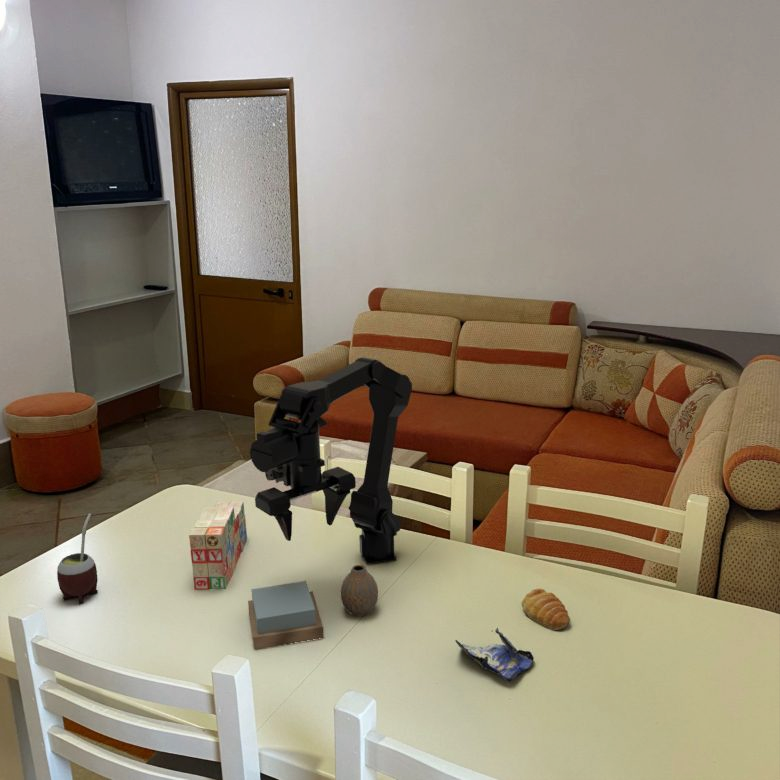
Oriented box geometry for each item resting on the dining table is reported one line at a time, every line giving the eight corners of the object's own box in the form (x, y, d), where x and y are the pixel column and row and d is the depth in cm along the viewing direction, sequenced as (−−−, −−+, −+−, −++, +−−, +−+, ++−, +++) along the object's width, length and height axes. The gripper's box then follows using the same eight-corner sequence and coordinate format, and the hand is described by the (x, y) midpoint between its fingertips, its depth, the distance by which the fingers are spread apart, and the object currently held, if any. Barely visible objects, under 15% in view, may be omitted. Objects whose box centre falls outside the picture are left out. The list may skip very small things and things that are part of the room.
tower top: (306, 595, 142) (306, 580, 141) (316, 624, 133) (315, 609, 132) (252, 603, 140) (251, 589, 139) (258, 634, 131) (256, 619, 130)
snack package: (504, 636, 133) (445, 652, 129) (509, 607, 131) (449, 622, 126) (543, 685, 124) (481, 705, 119) (550, 655, 121) (487, 674, 116)
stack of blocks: (219, 539, 170) (215, 488, 166) (247, 539, 170) (243, 488, 166) (194, 591, 149) (188, 533, 146) (226, 590, 149) (220, 533, 146)
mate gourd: (61, 609, 143) (50, 537, 139) (60, 589, 150) (49, 520, 146) (103, 600, 146) (93, 529, 142) (100, 581, 153) (90, 512, 149)
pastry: (579, 626, 135) (580, 607, 134) (548, 637, 133) (549, 617, 132) (546, 601, 144) (547, 582, 142) (516, 610, 141) (517, 592, 140)
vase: (383, 603, 143) (382, 561, 141) (371, 623, 137) (369, 580, 135) (349, 597, 146) (348, 556, 143) (335, 616, 139) (333, 574, 137)
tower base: (313, 605, 144) (312, 591, 144) (323, 641, 133) (323, 626, 132) (249, 615, 142) (248, 600, 141) (254, 653, 130) (253, 637, 130)
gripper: (321, 431, 150) (325, 504, 154) (236, 455, 138) (243, 533, 143) (355, 446, 141) (358, 522, 146) (268, 473, 130) (274, 554, 135)
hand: (309, 532), depth 143 cm, fingers open, 9 cm apart
